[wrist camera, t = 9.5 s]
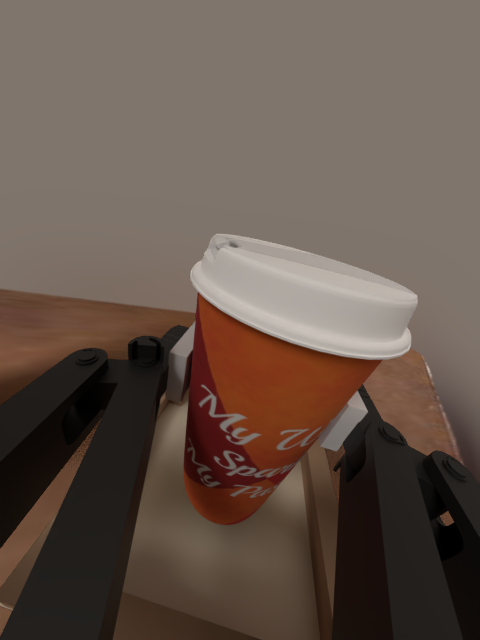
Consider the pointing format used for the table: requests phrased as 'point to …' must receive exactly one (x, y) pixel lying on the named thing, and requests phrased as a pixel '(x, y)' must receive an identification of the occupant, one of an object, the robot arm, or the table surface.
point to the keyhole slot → (221, 555)
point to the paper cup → (276, 363)
